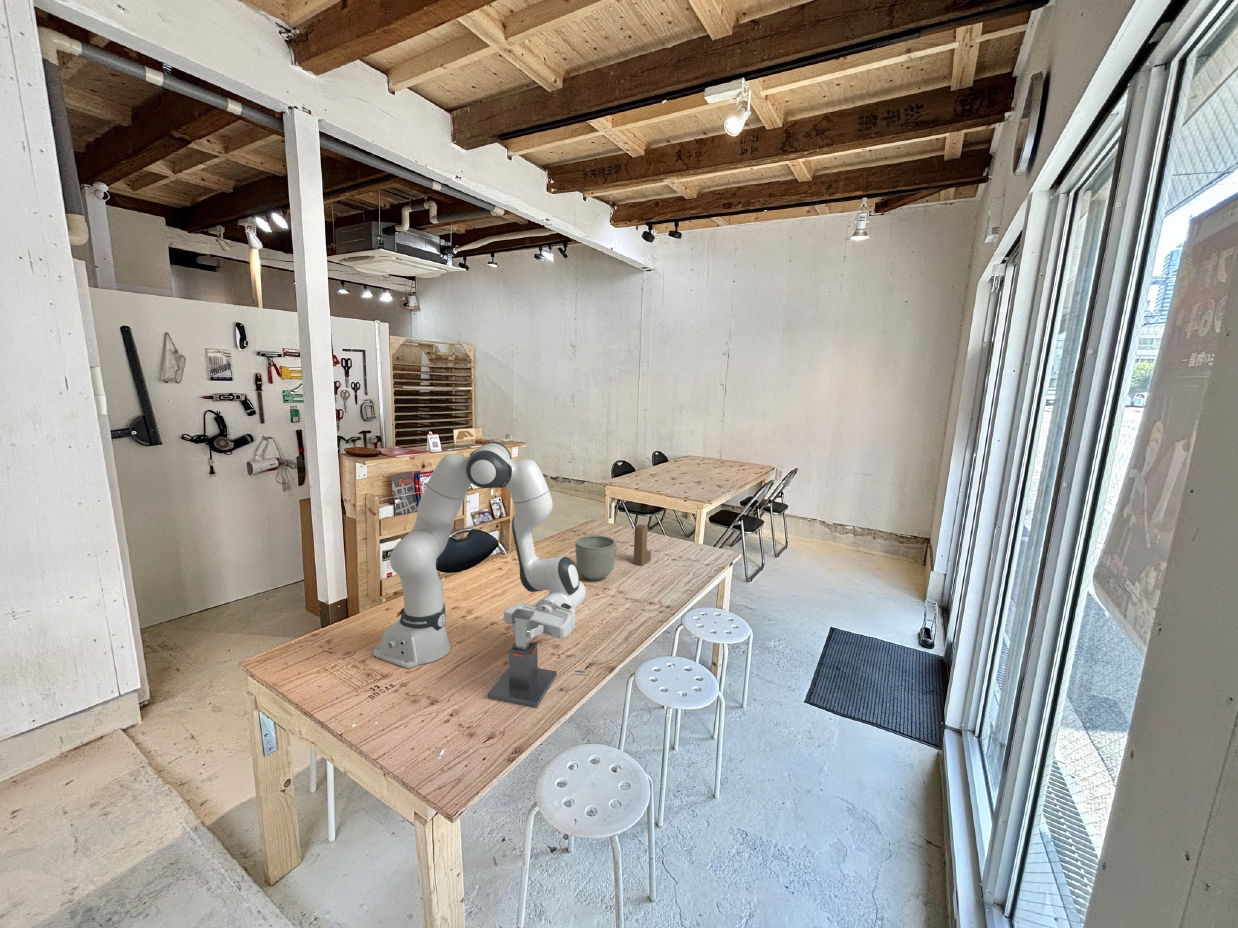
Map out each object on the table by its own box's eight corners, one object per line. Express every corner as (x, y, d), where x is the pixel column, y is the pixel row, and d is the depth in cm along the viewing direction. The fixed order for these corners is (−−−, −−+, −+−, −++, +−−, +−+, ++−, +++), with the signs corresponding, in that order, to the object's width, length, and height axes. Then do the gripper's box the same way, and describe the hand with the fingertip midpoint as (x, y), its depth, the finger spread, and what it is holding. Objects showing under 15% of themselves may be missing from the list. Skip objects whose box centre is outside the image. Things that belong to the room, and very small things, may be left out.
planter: (614, 586, 201) (615, 549, 198) (572, 585, 201) (573, 547, 198) (616, 570, 218) (616, 535, 215) (577, 568, 218) (577, 534, 215)
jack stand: (488, 697, 130) (487, 656, 128) (511, 668, 144) (511, 630, 142) (537, 707, 127) (537, 665, 125) (556, 675, 141) (556, 637, 138)
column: (512, 681, 134) (511, 614, 131) (517, 675, 137) (516, 608, 134) (529, 684, 133) (529, 616, 129) (534, 678, 136) (533, 611, 132)
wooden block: (642, 558, 233) (643, 521, 230) (651, 560, 231) (652, 523, 227) (633, 564, 225) (634, 526, 222) (641, 566, 223) (643, 528, 220)
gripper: (520, 593, 148) (490, 613, 136) (579, 609, 139) (552, 631, 127) (520, 613, 149) (490, 634, 137) (579, 629, 140) (552, 653, 128)
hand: (521, 632), depth 132 cm, fingers closed on column, 3 cm apart
